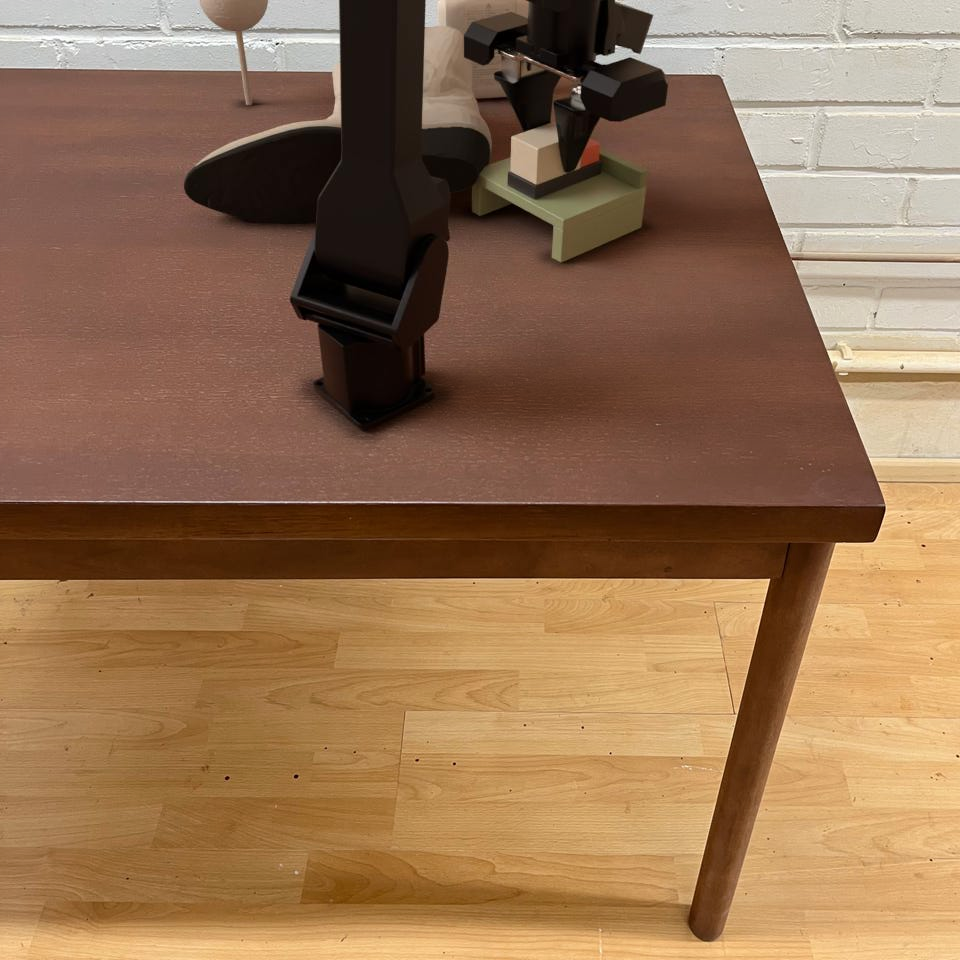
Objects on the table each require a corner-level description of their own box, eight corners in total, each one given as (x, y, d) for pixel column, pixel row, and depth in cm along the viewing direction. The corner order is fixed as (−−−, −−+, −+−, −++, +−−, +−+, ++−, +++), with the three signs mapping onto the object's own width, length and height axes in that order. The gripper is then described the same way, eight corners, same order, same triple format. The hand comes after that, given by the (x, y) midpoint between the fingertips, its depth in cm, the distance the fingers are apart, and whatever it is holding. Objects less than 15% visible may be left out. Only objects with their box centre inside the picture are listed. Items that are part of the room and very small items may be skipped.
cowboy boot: (497, 133, 85) (484, 9, 102) (167, 132, 84) (209, 7, 100) (493, 229, 92) (481, 98, 109) (189, 230, 90) (225, 97, 107)
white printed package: (522, 84, 116) (527, -32, 108) (531, 98, 113) (537, -21, 105) (434, 90, 114) (432, -28, 106) (441, 104, 111) (439, -16, 103)
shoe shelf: (560, 263, 86) (564, 203, 82) (471, 211, 93) (471, 154, 89) (641, 227, 91) (649, 169, 87) (551, 181, 97) (554, 125, 94)
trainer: (534, 200, 86) (537, 150, 83) (507, 185, 88) (508, 136, 85) (601, 173, 90) (605, 125, 87) (573, 160, 92) (576, 112, 89)
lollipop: (258, 86, 115) (238, -58, 105) (294, 105, 111) (277, -44, 101) (204, 102, 111) (178, -46, 101) (239, 122, 107) (215, -30, 97)
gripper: (729, -21, 76) (697, 175, 86) (559, -72, 86) (549, 108, 97) (626, 8, 70) (606, 213, 81) (459, -50, 81) (460, 138, 91)
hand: (554, 163), depth 88 cm, fingers closed on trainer, 3 cm apart
